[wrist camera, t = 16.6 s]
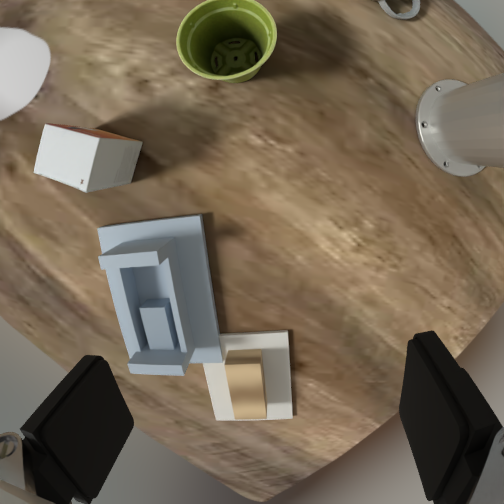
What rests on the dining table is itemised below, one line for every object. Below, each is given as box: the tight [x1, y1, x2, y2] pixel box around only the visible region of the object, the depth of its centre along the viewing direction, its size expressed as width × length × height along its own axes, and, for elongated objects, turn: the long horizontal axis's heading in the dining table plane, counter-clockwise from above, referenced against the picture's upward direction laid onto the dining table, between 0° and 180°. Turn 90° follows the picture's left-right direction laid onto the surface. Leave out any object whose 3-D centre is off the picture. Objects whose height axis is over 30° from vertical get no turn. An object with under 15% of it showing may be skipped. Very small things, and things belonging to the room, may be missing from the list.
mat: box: [203, 330, 293, 420], centre depth 44 cm, size 12×16×1 cm
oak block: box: [224, 349, 267, 420], centre depth 42 cm, size 10×4×4 cm, turn 6°
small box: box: [34, 123, 143, 193], centre depth 32 cm, size 8×6×10 cm
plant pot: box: [176, 0, 277, 83], centre depth 29 cm, size 9×9×9 cm
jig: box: [97, 214, 223, 376], centre depth 38 cm, size 20×14×8 cm
